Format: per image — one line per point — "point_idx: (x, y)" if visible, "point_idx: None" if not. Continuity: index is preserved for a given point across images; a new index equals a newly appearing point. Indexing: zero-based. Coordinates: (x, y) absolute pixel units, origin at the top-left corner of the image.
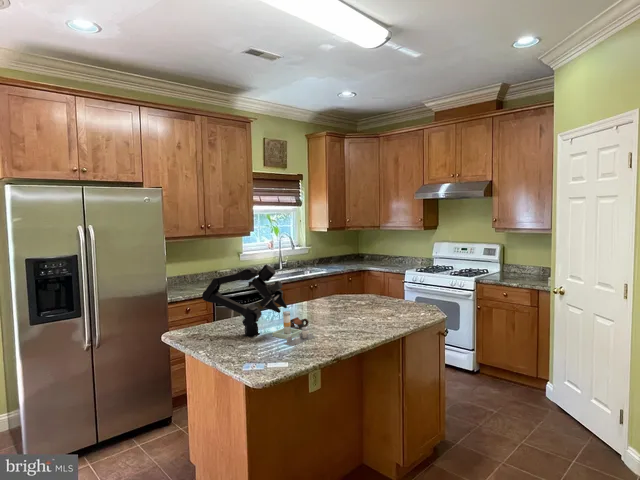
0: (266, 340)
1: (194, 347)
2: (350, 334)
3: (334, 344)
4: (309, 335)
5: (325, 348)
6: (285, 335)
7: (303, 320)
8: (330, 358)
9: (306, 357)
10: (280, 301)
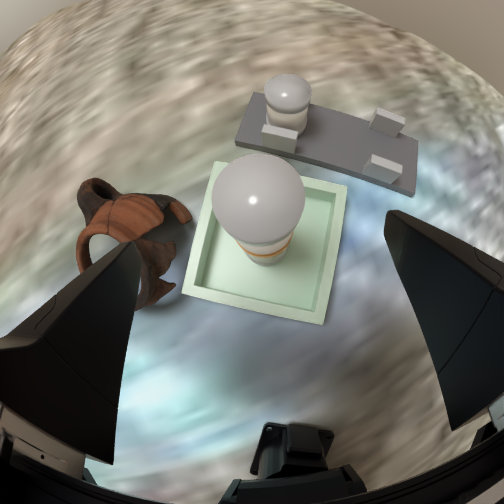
0: (362, 331)
1: None
2: (170, 35)
3: (300, 33)
4: None
5: (353, 46)
6: (342, 214)
7: (98, 196)
8: (414, 35)
9: (448, 85)
10: (86, 357)
